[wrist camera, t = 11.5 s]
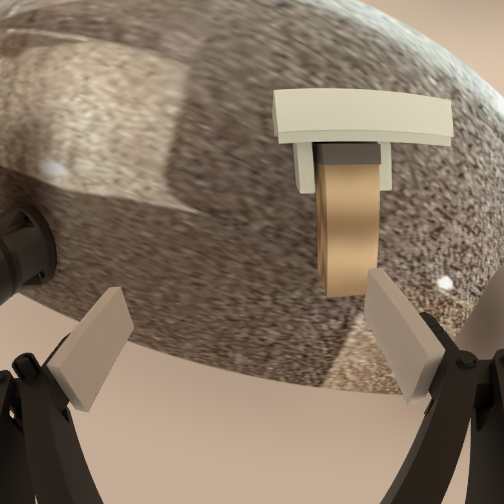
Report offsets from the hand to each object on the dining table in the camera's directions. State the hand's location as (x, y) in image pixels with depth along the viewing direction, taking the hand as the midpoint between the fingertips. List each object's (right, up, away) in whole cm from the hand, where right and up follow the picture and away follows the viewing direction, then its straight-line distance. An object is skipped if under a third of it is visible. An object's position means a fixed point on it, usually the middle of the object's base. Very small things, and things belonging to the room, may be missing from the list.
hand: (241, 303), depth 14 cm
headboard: (+10, +15, +16) cm, 24 cm away
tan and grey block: (+11, +8, +19) cm, 23 cm away
